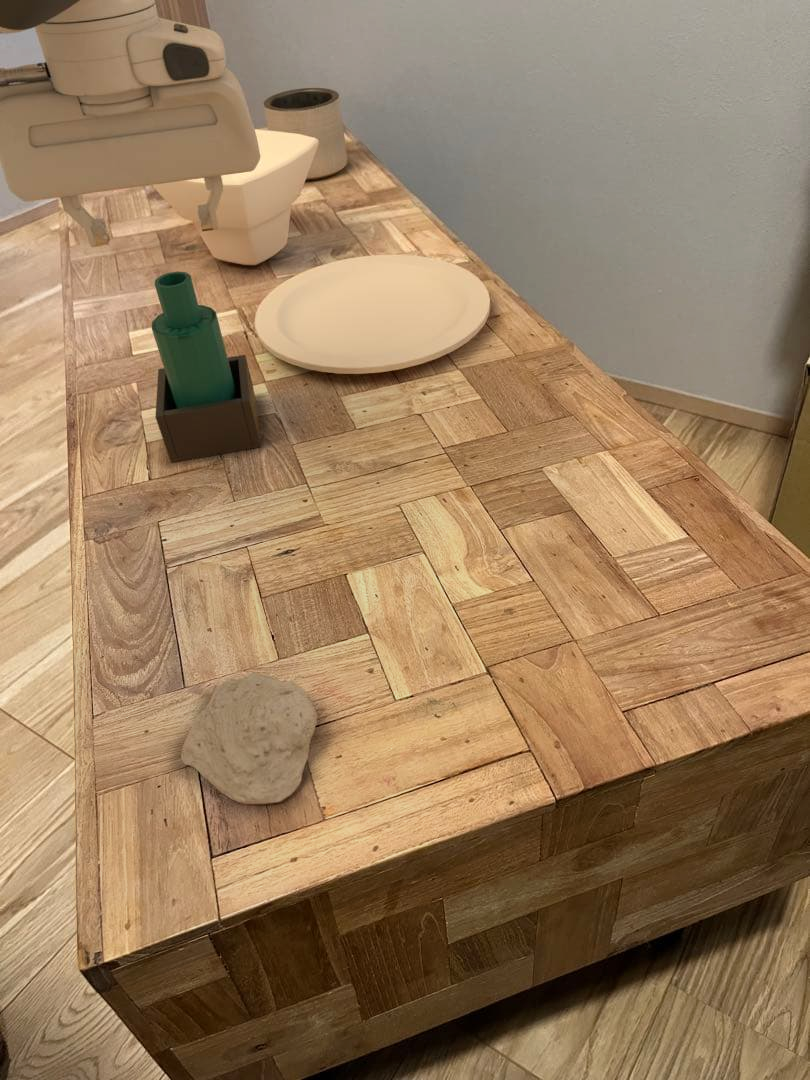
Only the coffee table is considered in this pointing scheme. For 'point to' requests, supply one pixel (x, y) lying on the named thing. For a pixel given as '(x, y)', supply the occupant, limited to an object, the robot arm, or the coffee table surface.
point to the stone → (253, 739)
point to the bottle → (191, 345)
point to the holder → (209, 419)
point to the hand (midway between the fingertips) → (156, 236)
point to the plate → (372, 314)
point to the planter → (311, 125)
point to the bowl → (250, 199)
